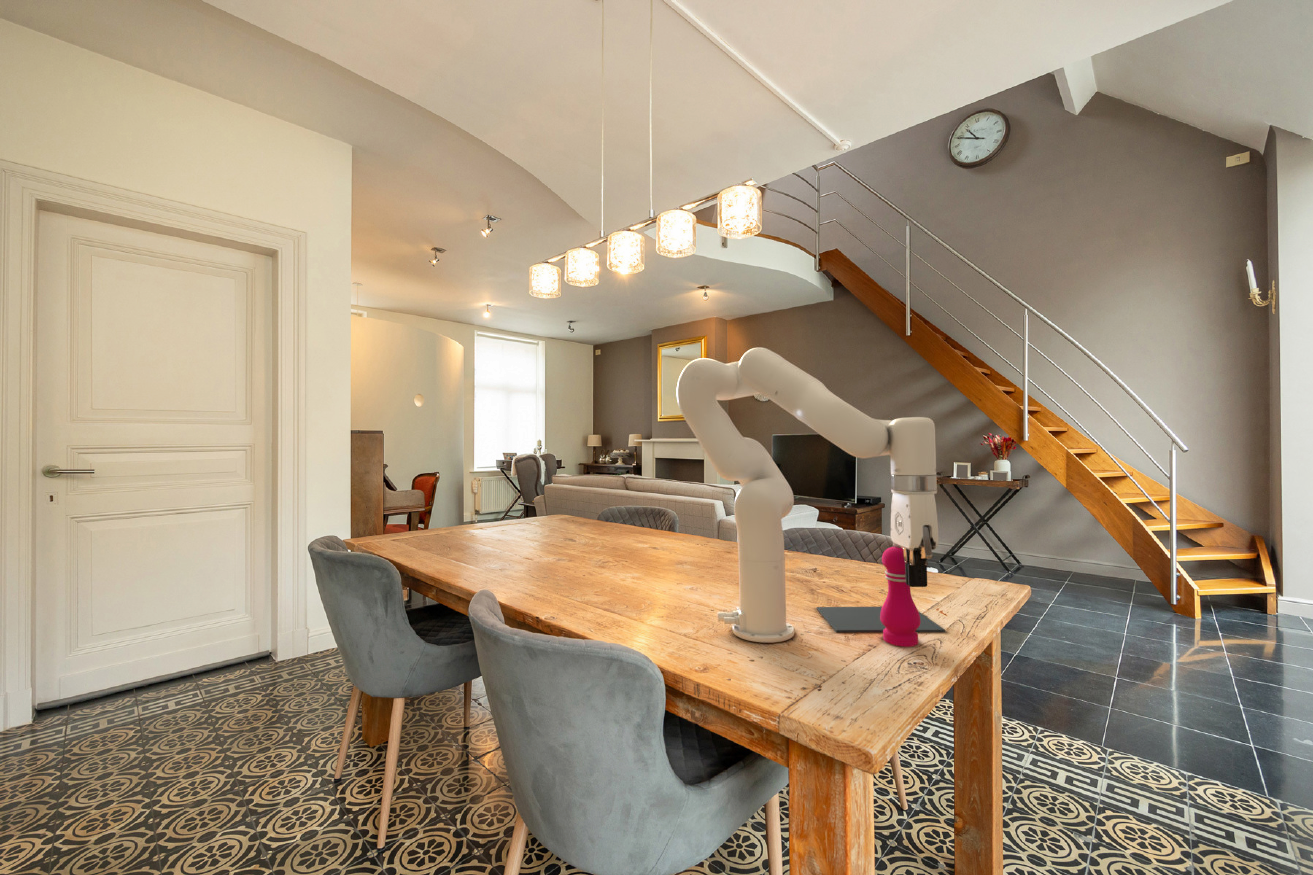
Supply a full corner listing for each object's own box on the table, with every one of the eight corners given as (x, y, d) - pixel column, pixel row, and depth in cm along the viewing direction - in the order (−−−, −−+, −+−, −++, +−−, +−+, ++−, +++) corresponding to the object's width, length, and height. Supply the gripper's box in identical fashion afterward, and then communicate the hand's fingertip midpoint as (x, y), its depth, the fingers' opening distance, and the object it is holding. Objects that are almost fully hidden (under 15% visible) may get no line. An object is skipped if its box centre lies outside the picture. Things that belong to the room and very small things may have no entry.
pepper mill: (880, 645, 103) (878, 541, 103) (880, 632, 110) (877, 535, 110) (922, 650, 100) (919, 543, 101) (919, 637, 107) (916, 536, 107)
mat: (836, 632, 110) (836, 630, 110) (816, 608, 126) (816, 606, 126) (945, 632, 109) (945, 629, 109) (911, 608, 125) (911, 606, 125)
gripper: (877, 482, 105) (880, 576, 105) (909, 488, 91) (913, 597, 90) (916, 481, 105) (919, 575, 105) (955, 487, 90) (958, 597, 90)
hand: (916, 585), depth 97 cm, fingers closed
